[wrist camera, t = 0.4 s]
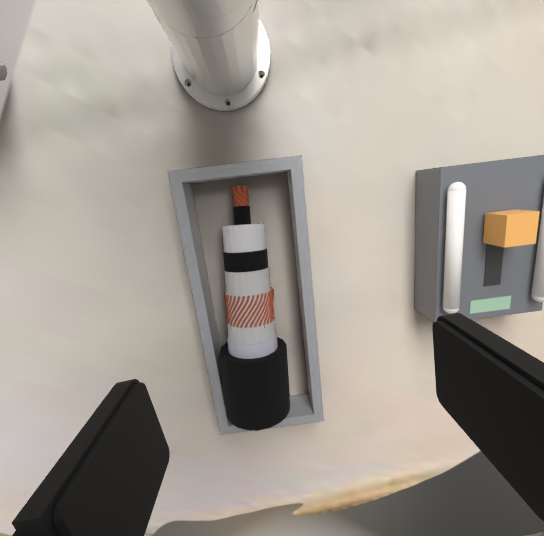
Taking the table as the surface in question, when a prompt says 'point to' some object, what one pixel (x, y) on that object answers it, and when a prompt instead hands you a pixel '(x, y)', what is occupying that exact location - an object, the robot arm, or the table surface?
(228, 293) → the cable
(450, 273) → the cord
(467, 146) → the table surface
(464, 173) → the grey slider switch panel
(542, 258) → the cord
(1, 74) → the grey rock
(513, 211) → the block
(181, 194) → the grey tray
